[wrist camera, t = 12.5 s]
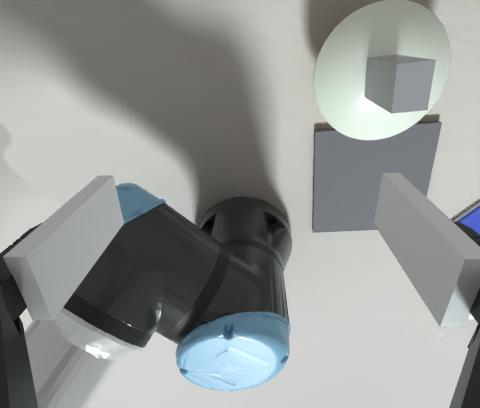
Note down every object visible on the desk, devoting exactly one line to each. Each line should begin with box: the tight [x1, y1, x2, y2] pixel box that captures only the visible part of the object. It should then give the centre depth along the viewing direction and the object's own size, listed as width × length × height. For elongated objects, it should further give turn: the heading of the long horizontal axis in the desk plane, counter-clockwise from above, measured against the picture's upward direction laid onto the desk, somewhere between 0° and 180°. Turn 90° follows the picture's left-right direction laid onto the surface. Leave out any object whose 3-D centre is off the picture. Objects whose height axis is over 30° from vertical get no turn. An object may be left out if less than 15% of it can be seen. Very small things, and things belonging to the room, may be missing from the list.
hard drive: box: [452, 202, 480, 235], centre depth 48 cm, size 2×8×12 cm
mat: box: [313, 121, 442, 232], centre depth 45 cm, size 16×16×1 cm
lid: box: [313, 0, 451, 140], centre depth 30 cm, size 14×14×9 cm
